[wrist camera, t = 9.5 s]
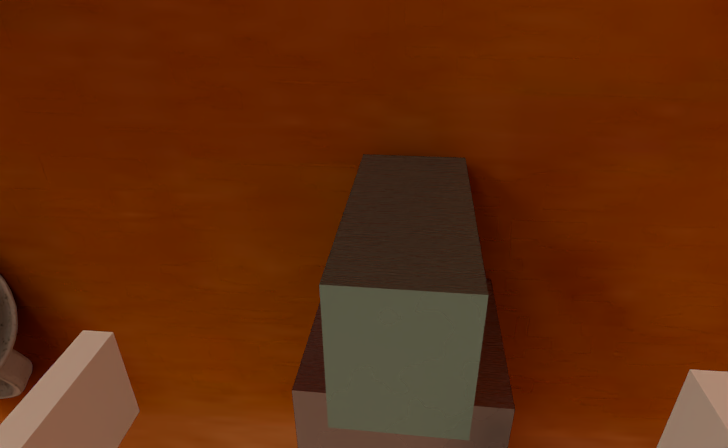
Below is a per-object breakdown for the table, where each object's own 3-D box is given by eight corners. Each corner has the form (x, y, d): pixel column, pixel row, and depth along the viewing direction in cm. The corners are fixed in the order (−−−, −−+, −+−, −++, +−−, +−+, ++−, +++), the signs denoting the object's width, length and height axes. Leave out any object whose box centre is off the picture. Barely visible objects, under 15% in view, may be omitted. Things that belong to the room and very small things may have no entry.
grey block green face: (363, 154, 20) (319, 284, 12) (465, 157, 19) (488, 295, 12) (366, 470, 29) (342, 662, 21) (435, 477, 29) (437, 675, 21)
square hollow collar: (330, 270, 23) (292, 390, 17) (490, 279, 23) (514, 409, 16) (333, 336, 25) (300, 466, 19) (481, 347, 25) (500, 487, 18)
